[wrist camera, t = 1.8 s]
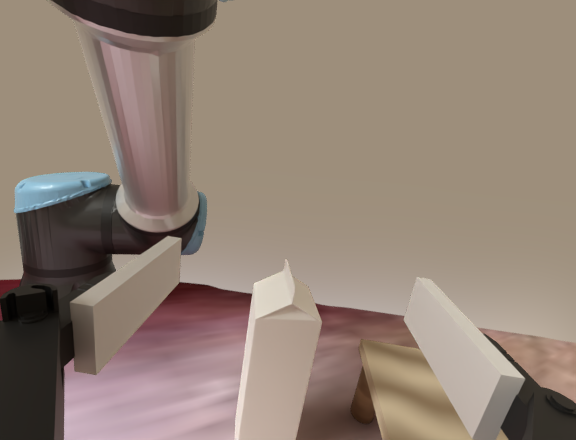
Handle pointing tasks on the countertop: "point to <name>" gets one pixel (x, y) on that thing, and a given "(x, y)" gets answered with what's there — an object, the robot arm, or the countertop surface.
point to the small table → (404, 396)
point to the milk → (277, 358)
